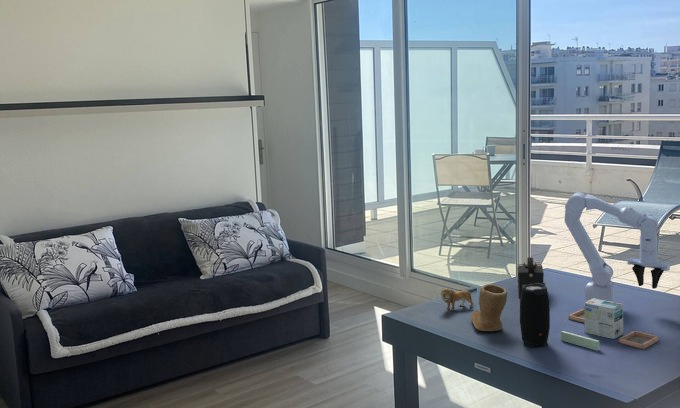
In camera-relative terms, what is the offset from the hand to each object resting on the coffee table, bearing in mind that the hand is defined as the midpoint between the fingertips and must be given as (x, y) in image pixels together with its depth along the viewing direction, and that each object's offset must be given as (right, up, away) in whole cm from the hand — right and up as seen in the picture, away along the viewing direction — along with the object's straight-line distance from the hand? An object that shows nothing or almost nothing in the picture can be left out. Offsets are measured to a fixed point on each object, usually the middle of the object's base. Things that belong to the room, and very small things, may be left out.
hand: (647, 286), depth 246 cm
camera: (-33, -7, +29) cm, 45 cm away
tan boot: (-58, -14, -4) cm, 59 cm away
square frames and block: (-22, -14, -17) cm, 31 cm away
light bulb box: (-22, -14, -16) cm, 31 cm away
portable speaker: (-47, -16, -22) cm, 54 cm away
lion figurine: (-65, -11, +17) cm, 68 cm away
